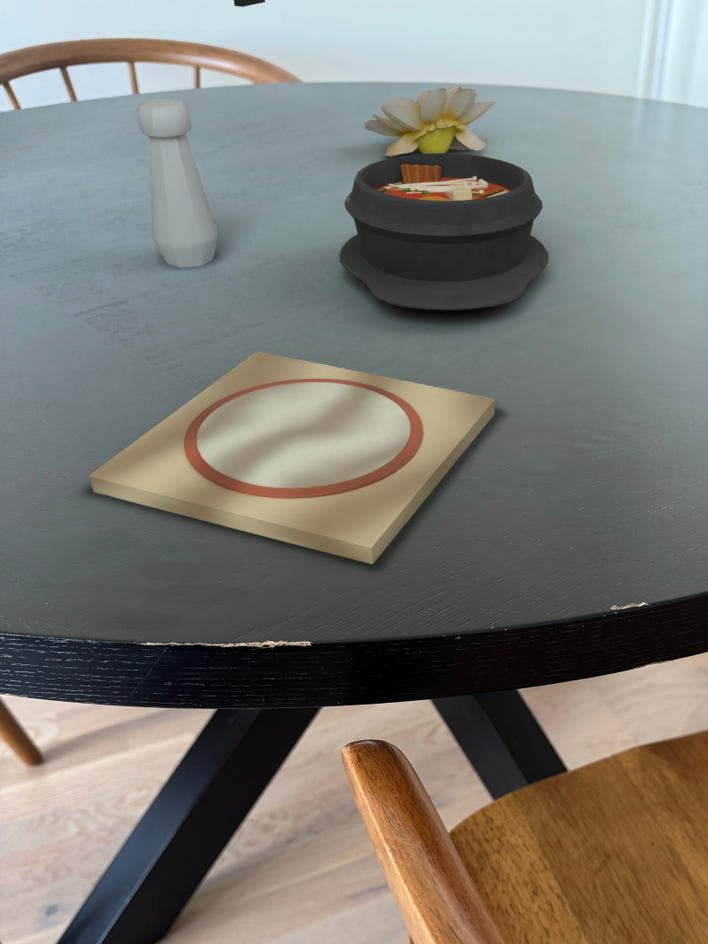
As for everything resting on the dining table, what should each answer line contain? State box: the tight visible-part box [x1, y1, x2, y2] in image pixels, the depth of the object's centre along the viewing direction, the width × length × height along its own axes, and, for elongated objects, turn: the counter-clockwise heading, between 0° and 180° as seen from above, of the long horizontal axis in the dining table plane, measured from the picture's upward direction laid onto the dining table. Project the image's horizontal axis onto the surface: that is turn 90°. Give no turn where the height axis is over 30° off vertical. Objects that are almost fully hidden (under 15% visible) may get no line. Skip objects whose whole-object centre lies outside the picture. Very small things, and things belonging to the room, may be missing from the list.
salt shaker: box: [136, 98, 219, 269], centre depth 83 cm, size 6×6×13 cm
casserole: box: [338, 152, 550, 311], centre depth 83 cm, size 25×19×8 cm
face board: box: [88, 350, 496, 565], centre depth 62 cm, size 19×19×2 cm
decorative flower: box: [364, 84, 497, 158], centre depth 112 cm, size 15×11×10 cm
